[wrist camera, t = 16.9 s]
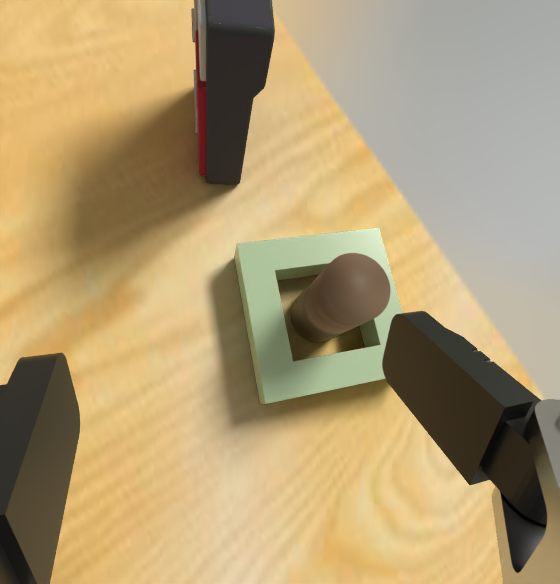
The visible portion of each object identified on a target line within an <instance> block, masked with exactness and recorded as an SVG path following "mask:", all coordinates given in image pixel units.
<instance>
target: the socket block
mask: <svg viewBox="0 0 560 584" xmlns="http://www.w3.org/2000/svg"><path fill="white" fill-rule="evenodd" d="M347 253H359V254H363V255H366V256H368V257H370V258H372V259H373V260H375V261H376V262H377V263H378V264H379V265H380V266H381V267H382V268H383V269H384V271H385V273H386V275H387V277H388V279H389V283H390V290H391V292H390V299H389V302H388V305H387V307H386V308H385V310H384V311H383V312H382V313H381V314H380V315H379V316H378V317H376V318H374V319H372V320H370V321H368V322H366V323H364V324H361V325H359V327H360V331H361V335H362V339H363V343H364V347H365V348H361V349H356V350H351V351H346V352H340V353H335V354H330V355H324V356H319V357H314V358H309V359H303V360H298V361H293V358H292V353H291V348H290V343H289V338H288V333H287V328H286V324H285V319H284V314H283V309H282V304H281V299H280V294H279V289H278V284H277V280H284V279H292V278H299V277H306V276H314V275H319V274H320V273H321V272H322V271H323V270H324V269H325V268H326V267H327V266H328V265H329V264H330V262H332V261H333V260H334V259H335V258H336V257H338V256H340V255H343V254H347ZM234 259H235V265H236V270H237V276H238V282H239V287H240V293H241V299H242V304H243V310H244V316H245V321H246V327H247V333H248V338H249V344H250V350H251V355H252V361H253V367H254V372H255V378H256V384H257V389H258V395H259V401H260V403H261V404H268V403H273V402H277V401H282V400H287V399H291V398H296V397H301V396H306V395H310V394H315V393H320V392H324V391H329V390H334V389H339V388H343V387H348V386H353V385H357V384H362V383H367V382H372V381H376V380H381V379H386V378H385V376H384V373H383V368H382V360H383V355H384V351H385V346H386V342H387V338H388V333H389V329H390V325H391V321H392V318H393V317H394V316H395V315H396V314H401V313H402V310H401V306H400V302H399V299H398V295H397V292H396V288H395V284H394V281H393V277H392V273H391V270H390V266H389V263H388V259H387V255H386V252H385V248H384V244H383V241H382V237H381V234H380V230H379V228H373V229H364V230H355V231H346V232H337V233H328V234H319V235H310V236H301V237H292V238H283V239H274V240H265V241H256V242H247V243H238V244H237V246H236V251H235V256H234Z"/></svg>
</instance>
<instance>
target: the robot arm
mask: <svg viewBox="0 0 560 584" xmlns="http://www.w3.org/2000/svg"><path fill="white" fill-rule="evenodd" d="M382 368H383V373H384V376H385V378H386V380H387V382H388V383H389V385H390V386H391V387H392V388H393V390H394V391H395V392H396V393H397V395H398V396H399V397H400V398H401V400H402V401H403V402H404V403H405V405H406V406H407V407H408V408H409V410H410V411H411V412H412V413H413V415H414V416H415V417H416V418H417V420H418V421H419V422H420V423H421V425H422V426H423V427H424V429H425V430H426V431H427V432H428V434H429V435H430V436H431V437H432V439H433V440H434V441H435V442H436V444H437V445H438V446H439V447H440V449H441V450H442V451H443V452H444V454H445V455H446V456H447V457H448V459H449V460H450V461H451V462H452V464H453V465H454V466H455V467H456V469H457V470H458V471H459V472H460V474H461V475H462V476H463V477H464V479H465V480H466V481H467V483H468V484H469V485H473V484H476V483H480V482H483V481H487V480H491V481H492V482H493V484H494V485H495V488H494V490H493V493H492V503H493V511H494V518H495V526H496V533H497V540H498V548H499V555H500V562H501V570H502V577H503V584H560V400H554V399H547V400H543V401H541V400H540V399H539V398H538V397H536V396H535V395H534V394H533V393H531V392H530V391H529V390H528V389H526V388H525V387H524V386H523V385H522V384H520V383H519V382H518V381H517V380H515V379H514V378H513V377H512V376H510V375H509V374H508V373H507V372H505V371H504V370H503V369H502V368H501V367H499V366H498V365H497V364H496V363H494V362H490V359H489V358H488V357H487V356H486V355H485V354H483V353H482V352H481V351H477V348H476V347H475V346H473V345H472V344H471V343H470V342H468V341H467V340H466V339H465V338H464V337H462V336H460V335H458V334H456V333H454V332H452V331H450V330H448V329H446V328H445V327H444V326H442V325H441V324H440V323H439V322H438V321H436V320H435V319H434V318H433V317H431V316H430V315H429V314H428V313H426V312H424V311H418V312H409V313H401V314H396V315H395V316H394V317H393V318H392V321H391V325H390V329H389V333H388V338H387V342H386V346H385V351H384V355H383V360H382ZM79 432H80V413H79V407H78V402H77V399H76V395H75V391H74V387H73V383H72V379H71V375H70V371H69V367H68V364H67V360H66V357H65V355H64V354H63V353H56V354H48V355H39V356H31V357H22V358H20V359H19V360H18V362H17V364H16V366H15V368H14V371H13V373H12V375H11V377H10V379H9V381H8V383H7V384H6V385H0V584H50V580H51V575H52V570H53V565H54V559H55V554H56V549H57V544H58V539H59V534H60V529H61V524H62V519H63V514H64V509H65V504H66V499H67V494H68V489H69V484H70V479H71V474H72V469H73V464H74V459H75V454H76V449H77V444H78V439H79Z"/></svg>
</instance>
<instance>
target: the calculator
mask: <svg viewBox="0 0 560 584" xmlns="http://www.w3.org/2000/svg"><path fill="white" fill-rule="evenodd" d="M274 34H275V28H274V18H273V8H272V0H194V9H192V40H193V42H195V46H196V70H194V106H195V133H198V150H199V174H200V175H206V182H207V183H225V184H239V183H240V179H241V173H242V167H243V160H244V154H245V148H246V141H247V135H248V129H249V122H250V116H251V110H252V103H253V98H254V97H255V96H256V95H257V94H258V93H259V92H260V91H261V90H262V89H264V87H265V84H266V79H267V73H268V68H269V63H270V58H271V52H272V47H273V42H274Z"/></svg>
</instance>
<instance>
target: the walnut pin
mask: <svg viewBox="0 0 560 584" xmlns="http://www.w3.org/2000/svg"><path fill="white" fill-rule="evenodd" d="M390 292H391V290H390V283H389V279H388V277H387V275H386V273H385V271H384V269H383V268H382V267H381V266H380V265H379V264H378V263H377V262H376V261H375V260H373V259H372V258H370V257H368V256H366V255H363V254H359V253H347V254H343V255H340V256H338V257H336V258H335V259H334V260H333V261H332V262H330V264H329V265H328V266H327V267H326V268H325V269H324V270H323V271H322V272H321V273H320V274H319V275H318V276H317V278H316V279H315V280H314V281H313V282H312V283H311V284H310V285H309V286H308V287H307V288H306V289H305V291H304V292H303V293H302V294H301V295H300V296H299V297H298V298H297V299H296V301H295V302H294V304H293V306H292V310H291V320H292V324H293V326H294V328H295V330H296V331H297V333H298V334H299V335H300V336H302V337H303V338H305V339H306V340H309V341H312V342H324V341H327V340H329V339H331V338H334V337H336V336H338V335H340V334H342V333H344V332H346V331H349V330H351V329H353V328H355V327H357V326H359V325H361V324H364V323H366V322H368V321H370V320H372V319H374V318H376V317H378V316H379V315H380V314H381V313H382V312H383V311H384V310H385V308H386V307H387V305H388V302H389V299H390Z"/></svg>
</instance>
